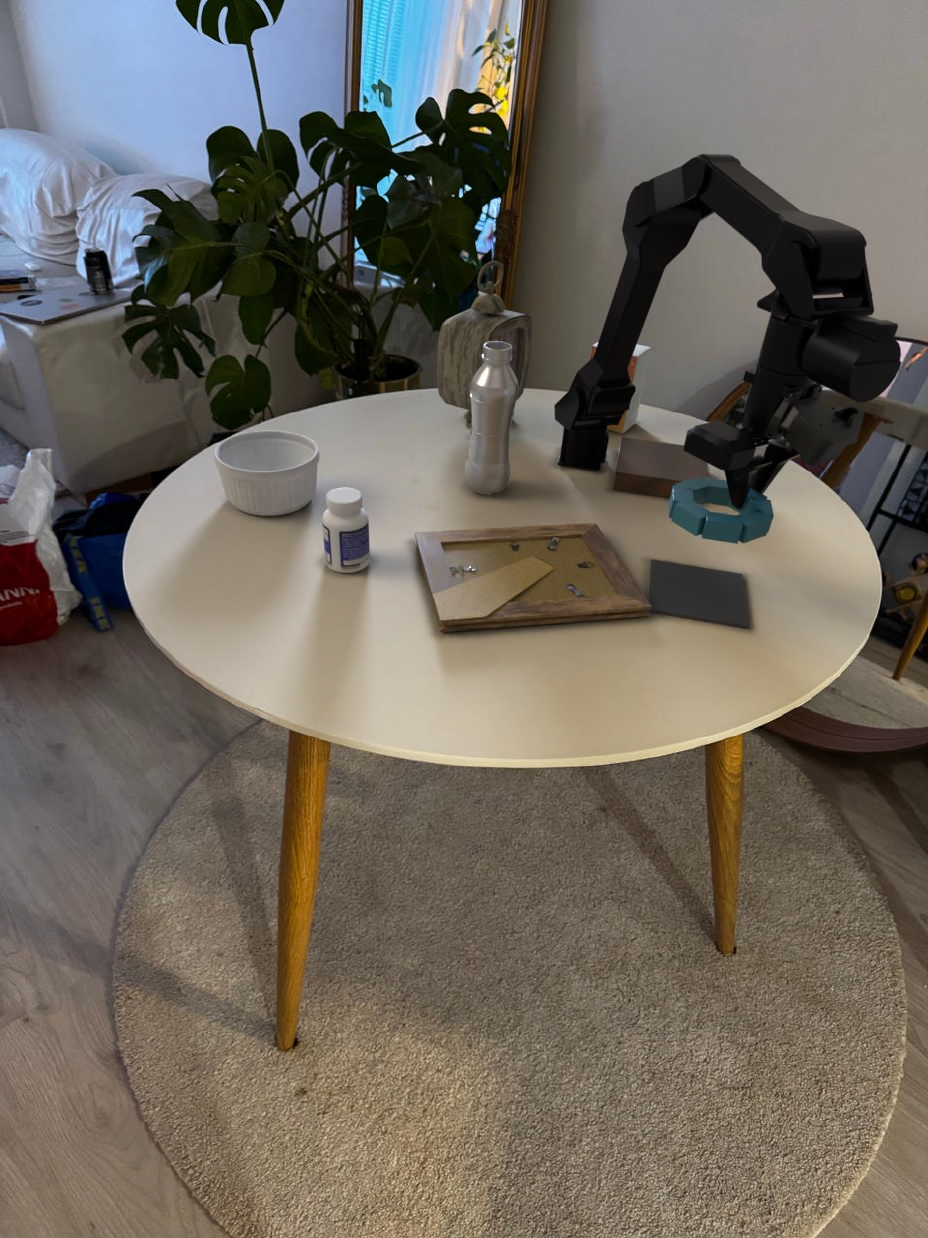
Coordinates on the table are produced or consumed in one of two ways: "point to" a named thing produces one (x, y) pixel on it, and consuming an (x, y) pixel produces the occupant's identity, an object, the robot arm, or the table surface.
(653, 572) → the mat
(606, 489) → the table surface
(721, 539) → the ring
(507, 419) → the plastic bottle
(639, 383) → the small box
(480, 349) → the tabletop clock
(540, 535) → the picture frame
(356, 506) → the pill bottle
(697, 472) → the platform
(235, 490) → the ramekin
